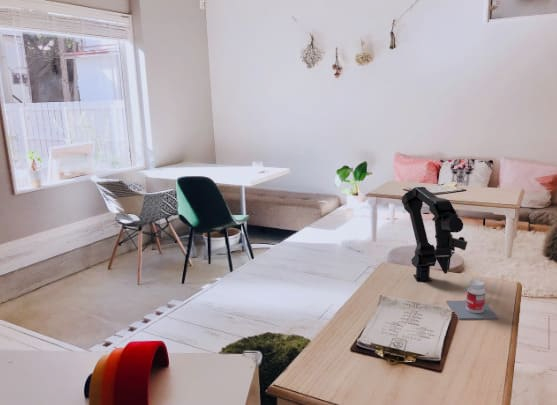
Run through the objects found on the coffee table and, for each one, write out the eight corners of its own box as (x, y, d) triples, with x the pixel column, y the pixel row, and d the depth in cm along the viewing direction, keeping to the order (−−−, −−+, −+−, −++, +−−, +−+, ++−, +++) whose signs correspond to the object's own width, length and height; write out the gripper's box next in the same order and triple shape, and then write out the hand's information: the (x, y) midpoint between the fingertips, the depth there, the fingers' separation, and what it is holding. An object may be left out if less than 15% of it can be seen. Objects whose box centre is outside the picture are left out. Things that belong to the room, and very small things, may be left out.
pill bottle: (463, 306, 179) (465, 279, 176) (479, 305, 179) (481, 278, 176) (470, 314, 173) (472, 286, 170) (486, 313, 173) (489, 285, 170)
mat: (446, 302, 184) (446, 300, 184) (482, 301, 184) (483, 300, 183) (458, 319, 170) (459, 318, 170) (498, 319, 170) (498, 317, 170)
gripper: (463, 232, 174) (467, 274, 174) (466, 229, 191) (469, 268, 191) (432, 234, 179) (435, 275, 178) (437, 230, 196) (440, 268, 195)
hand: (446, 271), depth 186 cm, fingers open, 9 cm apart
